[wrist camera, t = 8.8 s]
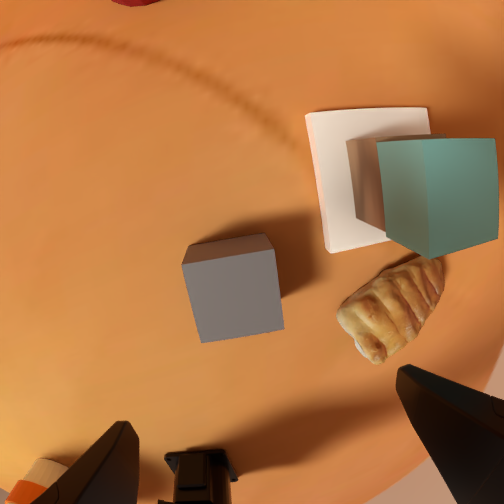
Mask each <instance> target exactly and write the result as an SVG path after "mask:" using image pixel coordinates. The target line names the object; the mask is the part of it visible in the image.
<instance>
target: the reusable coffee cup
mask: <svg viewBox="0 0 504 504" xmlns="http://www.w3.org/2000/svg"><path fill="white" fill-rule="evenodd" d="M68 469H69V468H68V467H66V466H64V465H62V464H60V463H57V462H55V461H52V460H48V459H43V458H40V459H37V460H36V461H35V462H34V464H33V465H32V467H31V468H30V470H29V471H28V473H27V474H26V476H25V477H24V479H23V480H19V481H18V482H17V484H16V485H15V487H14V488H13V490H12V491H11V493H10V495H9V496H8V498H7V499H6V501H5V504H29V503H31V502H32V501H33V500H35V499H36V498H37V497H38V496H40V495H41V494H42V493H43V492H44V491H45V490H46V489H48V488H49V487H50V486H51V485H52V484H53V483H54V482H55V481H57V479H58V478H59V477H60V476H61V475H62V474H63V473H64V472H65V471H66V470H68Z"/></svg>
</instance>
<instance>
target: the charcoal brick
mask: <svg viewBox="0 0 504 504" xmlns="http://www.w3.org/2000/svg"><path fill="white" fill-rule="evenodd" d="M182 269H183V274H184V278H185V282H186V286H187V290H188V294H189V298H190V302H191V306H192V310H193V314H194V318H195V322H196V326H197V329H198V333H199V337H200V340H201V343H206V342H213V341H220V340H226V339H232V338H238V337H244V336H250V335H256V334H261V333H267V332H272V331H278V330H283V329H284V321H283V313H282V305H281V297H280V289H279V281H278V273H277V266H276V258H275V250H274V248H273V246H272V244H271V243H270V241H269V239H268V238H267V236H266V234H265V233H260V234H254V235H248V236H242V237H236V238H230V239H224V240H219V241H213V242H207V243H201V244H196V245H190V246H188V249H187V251H186V254H185V257H184V259H183V262H182Z"/></svg>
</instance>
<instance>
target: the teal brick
mask: <svg viewBox="0 0 504 504" xmlns="http://www.w3.org/2000/svg"><path fill="white" fill-rule="evenodd" d="M376 145H377V151H378V158H379V166H380V174H381V183H382V192H383V202H384V214H385V228H386V237H387V238H389V239H391V240H393V241H395V242H397V243H399V244H401V245H403V246H405V247H406V248H408V249H410V250H412V251H414V252H416V253H418V254H420V255H421V256H423V257H425V258H427V259H432V258H436V257H439V256H443V255H446V254H450V253H453V252H456V251H460V250H463V249H466V248H470V247H473V246H476V245H479V244H482V243H486V242H489V241H492V240H495V239H498V228H499V184H498V165H497V153H496V143H495V138H440V139H417V140H401V141H387V142H376Z"/></svg>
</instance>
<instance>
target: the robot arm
mask: <svg viewBox="0 0 504 504" xmlns="http://www.w3.org/2000/svg"><path fill="white" fill-rule="evenodd" d="M396 391H397V393H398V396H399V398H400V400H401V402H402V404H403V406H404V409H405V411H406V413H407V415H408V418H409V420H410V422H411V424H412V426H413V428H414V429H415V431H416V433H417V434H418V436H419V438H420V440H421V441H422V443H423V445H424V446H425V448H426V450H427V451H428V453H429V455H430V456H431V458H432V460H433V462H434V463H435V465H436V467H437V468H438V470H439V472H440V474H441V475H442V477H443V479H444V481H445V482H446V484H447V486H448V488H449V490H450V491H451V493H452V495H453V497H454V499H455V500H456V502H457V504H504V400H502V399H499V398H496V397H494V396H491V397H490V395H488V394H485V393H483V392H480V391H477V390H475V389H472V388H469V387H467V386H464V385H461V384H459V383H456V382H454V381H451V380H448V379H446V378H443V377H441V376H438V375H436V374H433V373H431V372H428V371H426V370H423V369H421V368H418V367H416V366H413V365H411V364H407V365H404V366H402V367H400V368H398V371H397V378H396ZM164 460H165V461H166V463H167V464H168V465H169V467H170V468H171V470H172V471H173V472H174V474H175V481H174V493H173V502H166V501H164V500H159V499H158V504H232V502H231V488H230V482H236V481H238V476H237V474H236V472H235V470H234V468H233V466H232V463H231V461H230V459H229V457H228V455H227V453H226V451H225V450H212V451H202V452H191V453H178V454H166V455H165V456H164ZM138 486H139V437H138V435H137V434H136V432H135V430H134V429H133V427H132V425H131V424H130V422H128V421H117V422H115V423H114V424H113V425H112V426H111V427H110V428H109V429H108V430H107V431H106V432H105V433H104V434H103V435H102V436H101V437H100V438H99V439H98V440H97V441H96V442H95V443H94V444H93V445H92V446H91V447H90V448H89V449H88V450H87V451H86V452H85V453H84V454H83V455H82V456H81V457H80V458H79V459H78V460H77V461H76V462H75V463H74V464H73V465H72V466H71V467H70V468H69V469H68V470H66V471H65V472H64V473H63V474H62V475H61V476H60V477H59V478H58V479H57V481H55V482H54V483H53V484H52V485H51V486H50V487H49V488H48V489H46V490H45V491H44V492H43V493H42V494H41V495H40V496H38V497H37V498H36V499H35V500H33V501H32V502H31V503H29V504H137V495H138Z"/></svg>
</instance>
